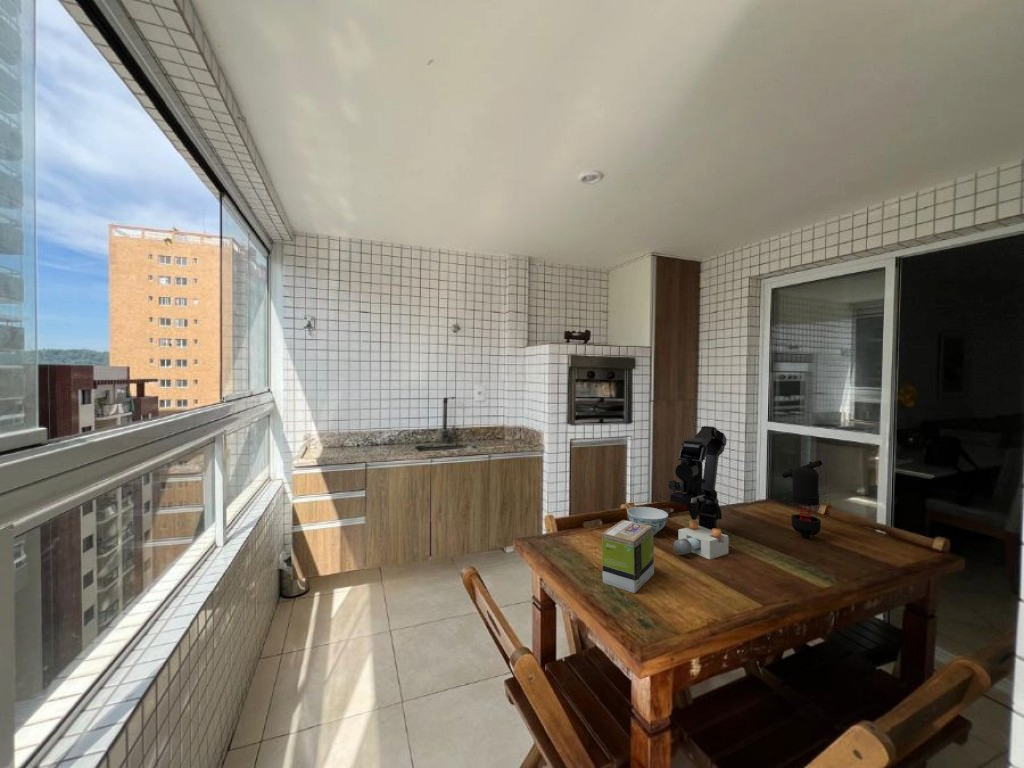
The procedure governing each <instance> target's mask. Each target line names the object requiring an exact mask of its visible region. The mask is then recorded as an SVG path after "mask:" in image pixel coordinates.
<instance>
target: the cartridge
mask: <svg viewBox="0 0 1024 768" xmlns="http://www.w3.org/2000/svg"><path fill="white" fill-rule="evenodd" d="M699 548H701V540H699V539H696V538H693V537H692V538H688V539H685V538H683V539H679V538H678V539H676V540H675V541H674V542H673V549H674V550H675V552H676V553H677V554H679V555H686V554H689V553H692V552H691V551H692V550H695V549H699Z"/></svg>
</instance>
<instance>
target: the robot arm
mask: <svg viewBox="0 0 1024 768" xmlns="http://www.w3.org/2000/svg"><path fill="white" fill-rule="evenodd" d="M725 446H727V437H726V435H725V433H724V432H722V431H720V430H718V429H717V427H715V426H708V425H704V426H703V425H702V426H701V427H700V430H699V431H698V432H697V433H696V434H695V436H693V438H692V437H691V438H687V439H685V440H683V442H682V444H681V445H680V450H679V455H678V458H677V459H678V461H680V464H678V465H677V466H676V467H675V470H674V471H675V475H676V477H677V478H678V479H679V480H681V481H678V482H677V481H676V480H668V489H669V490H670V491H672V492H671V493H670V494H669V501H670V502H673V503H676V504H679V505H682V506H686V508H687V510H688V512H689V515H690V518H691V521H696V520H697V518H698V526H701V527H704V528H707V529H710V530H712V529H713V528H716V529H718V528H717V525H718V524H717V521H718V520H722V518H723V515H722V508H721V507H720V504H719V499H718V492H717V490H716V483H717V474H718V465H719V457H720V456H721V455H722V453H724V451H725ZM703 462H704V463H703ZM703 464H704V465H703ZM703 466H704V469H703Z"/></svg>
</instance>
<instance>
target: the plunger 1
mask: <svg viewBox="0 0 1024 768" xmlns="http://www.w3.org/2000/svg"><path fill="white" fill-rule="evenodd" d="M698 526H699V521H696V520H689V527H688V528H689V529H692V530H698Z"/></svg>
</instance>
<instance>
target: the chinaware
mask: <svg viewBox="0 0 1024 768" xmlns="http://www.w3.org/2000/svg"><path fill="white" fill-rule="evenodd" d="M627 517H628V519H629V520H628V521H630V522H635V523H640V524H645V525H650V526H653V536H655V535H657V533H658V532H660V531H661V530H662V529H663V528H664V527H665V526H666V524H667V522H668V519H669V513H668V512H667V511H664V510H662V509H659V508H656V507H655V508H654V507H649V506H632V507H630V508H628V509H627Z"/></svg>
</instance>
